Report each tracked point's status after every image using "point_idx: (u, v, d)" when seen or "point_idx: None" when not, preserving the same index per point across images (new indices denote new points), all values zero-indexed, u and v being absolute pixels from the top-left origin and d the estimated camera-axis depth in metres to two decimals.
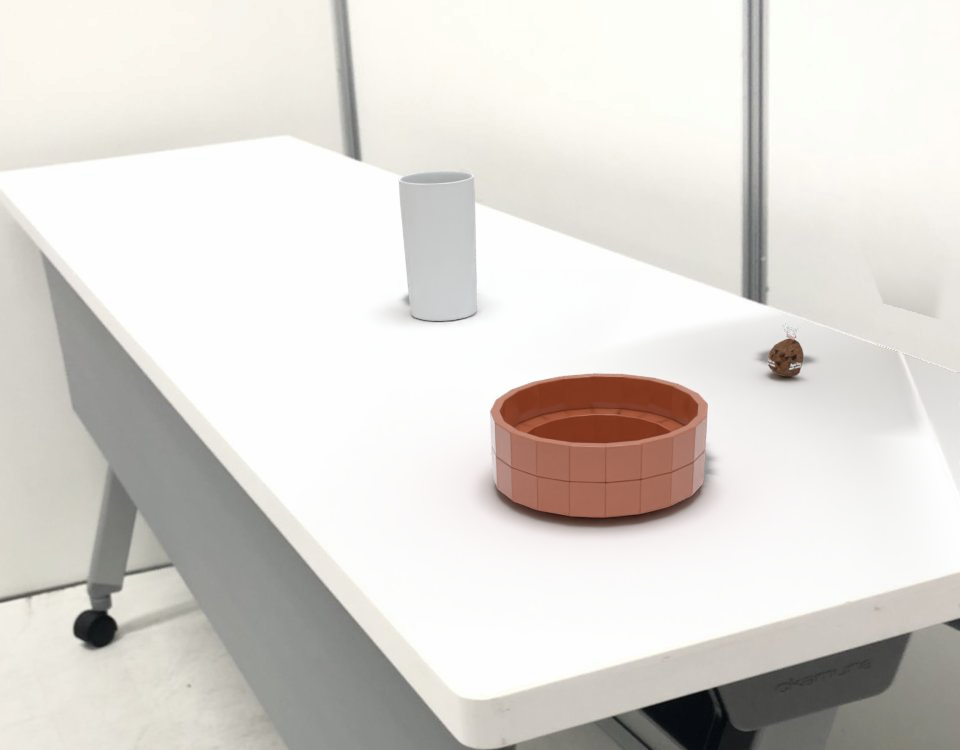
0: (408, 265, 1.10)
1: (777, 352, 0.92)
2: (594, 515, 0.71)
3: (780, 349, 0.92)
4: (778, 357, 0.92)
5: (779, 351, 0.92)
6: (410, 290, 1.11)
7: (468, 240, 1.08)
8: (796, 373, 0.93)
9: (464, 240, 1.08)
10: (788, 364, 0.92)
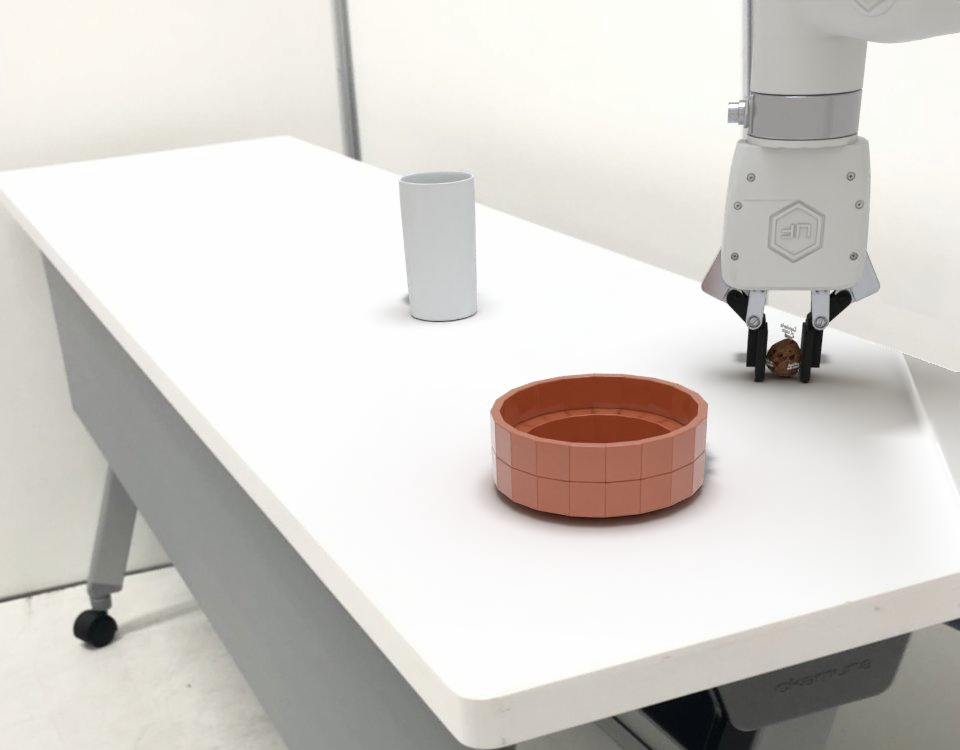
0: (408, 265, 1.10)
1: (775, 352, 0.92)
2: (594, 515, 0.71)
3: (778, 349, 0.92)
4: (776, 357, 0.92)
5: (777, 351, 0.92)
6: (410, 290, 1.11)
7: (468, 240, 1.08)
8: (794, 373, 0.93)
9: (464, 240, 1.08)
10: (786, 364, 0.92)
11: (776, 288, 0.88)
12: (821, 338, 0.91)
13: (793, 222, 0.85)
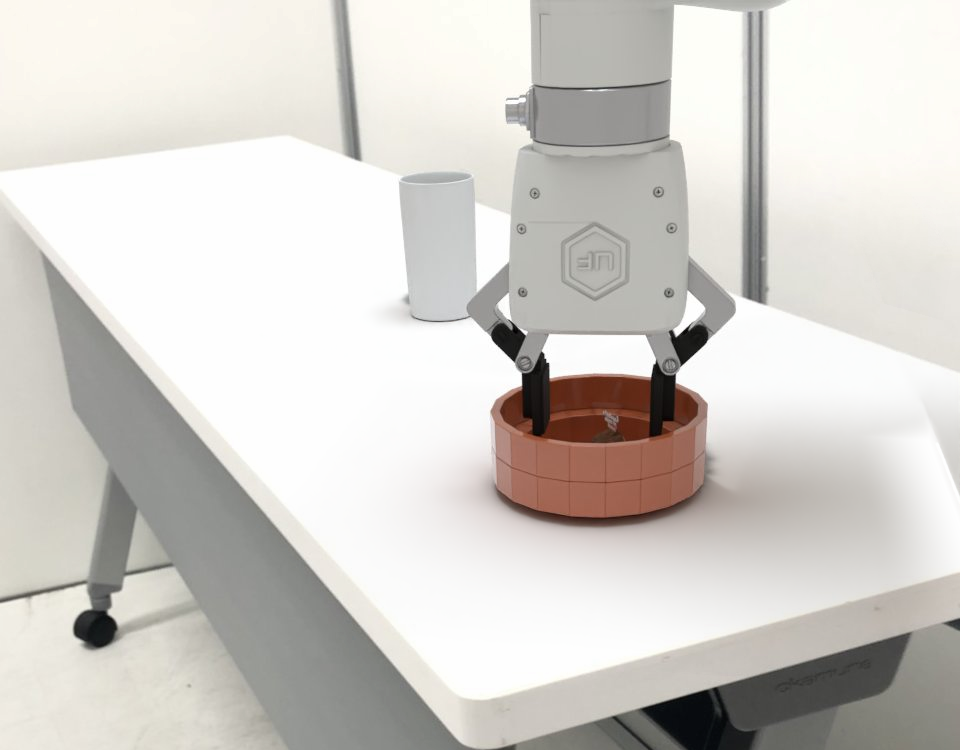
0: (408, 265, 1.10)
1: None
2: (594, 515, 0.71)
3: None
4: None
5: None
6: (410, 290, 1.11)
7: (468, 240, 1.08)
8: None
9: (464, 240, 1.08)
10: None
11: (577, 332, 0.70)
12: (673, 385, 0.72)
13: (591, 250, 0.67)
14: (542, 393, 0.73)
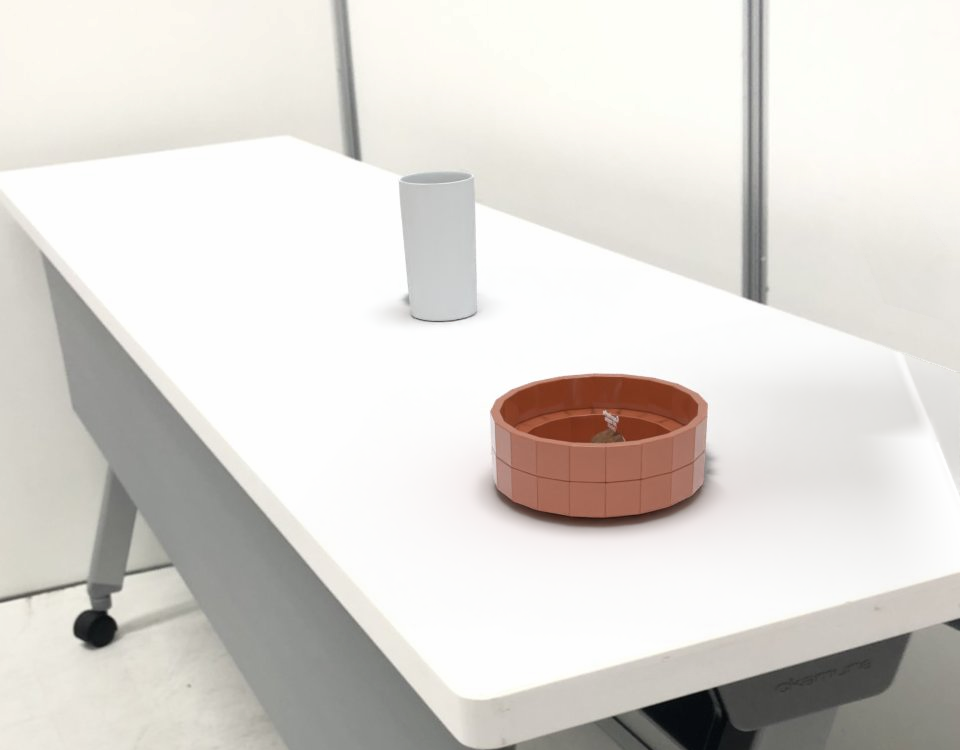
0: (408, 265, 1.10)
1: None
2: (594, 515, 0.71)
3: None
4: None
5: None
6: (410, 290, 1.11)
7: (468, 240, 1.08)
8: None
9: (464, 240, 1.08)
10: None
11: None
12: None
13: None
14: None
